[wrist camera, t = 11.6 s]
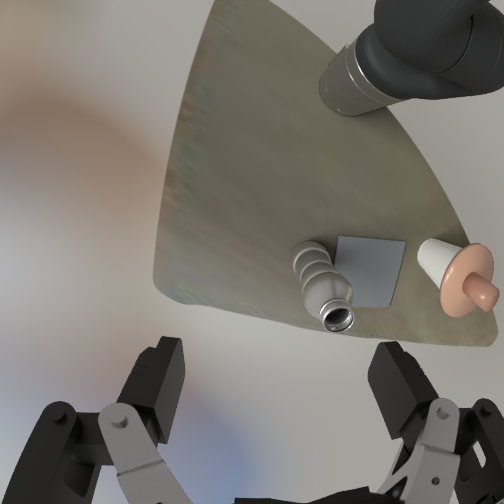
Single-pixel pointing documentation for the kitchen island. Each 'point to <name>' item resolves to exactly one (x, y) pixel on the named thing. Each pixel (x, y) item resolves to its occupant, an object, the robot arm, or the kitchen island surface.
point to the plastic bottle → (323, 287)
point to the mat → (369, 268)
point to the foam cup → (436, 258)
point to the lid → (468, 282)
